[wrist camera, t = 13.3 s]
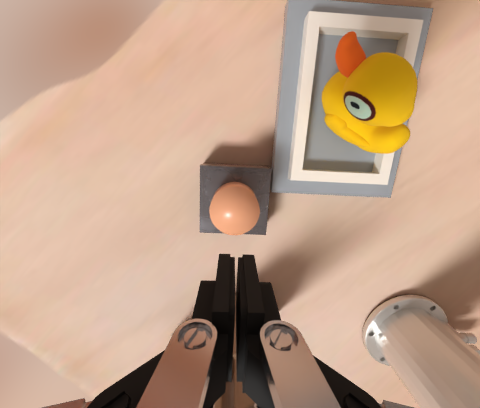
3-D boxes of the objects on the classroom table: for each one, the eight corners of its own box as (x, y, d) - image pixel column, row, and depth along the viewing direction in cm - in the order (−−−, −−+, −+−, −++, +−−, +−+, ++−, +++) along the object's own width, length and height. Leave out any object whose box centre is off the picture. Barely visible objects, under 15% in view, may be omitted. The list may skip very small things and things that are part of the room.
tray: (421, 16, 25) (446, -1, 22) (382, 195, 30) (399, 200, 27) (285, 5, 24) (292, -14, 21) (269, 189, 29) (273, 194, 26)
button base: (267, 166, 29) (271, 168, 26) (262, 226, 31) (265, 234, 28) (203, 162, 28) (200, 165, 25) (202, 223, 30) (199, 232, 27)
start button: (258, 182, 25) (261, 188, 22) (255, 225, 26) (257, 236, 23) (212, 180, 25) (209, 185, 22) (211, 224, 26) (208, 234, 23)
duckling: (289, 89, 25) (324, 55, 15) (327, 50, 24) (389, -11, 14) (351, 164, 27) (416, 175, 18) (388, 131, 26) (477, 123, 17)
